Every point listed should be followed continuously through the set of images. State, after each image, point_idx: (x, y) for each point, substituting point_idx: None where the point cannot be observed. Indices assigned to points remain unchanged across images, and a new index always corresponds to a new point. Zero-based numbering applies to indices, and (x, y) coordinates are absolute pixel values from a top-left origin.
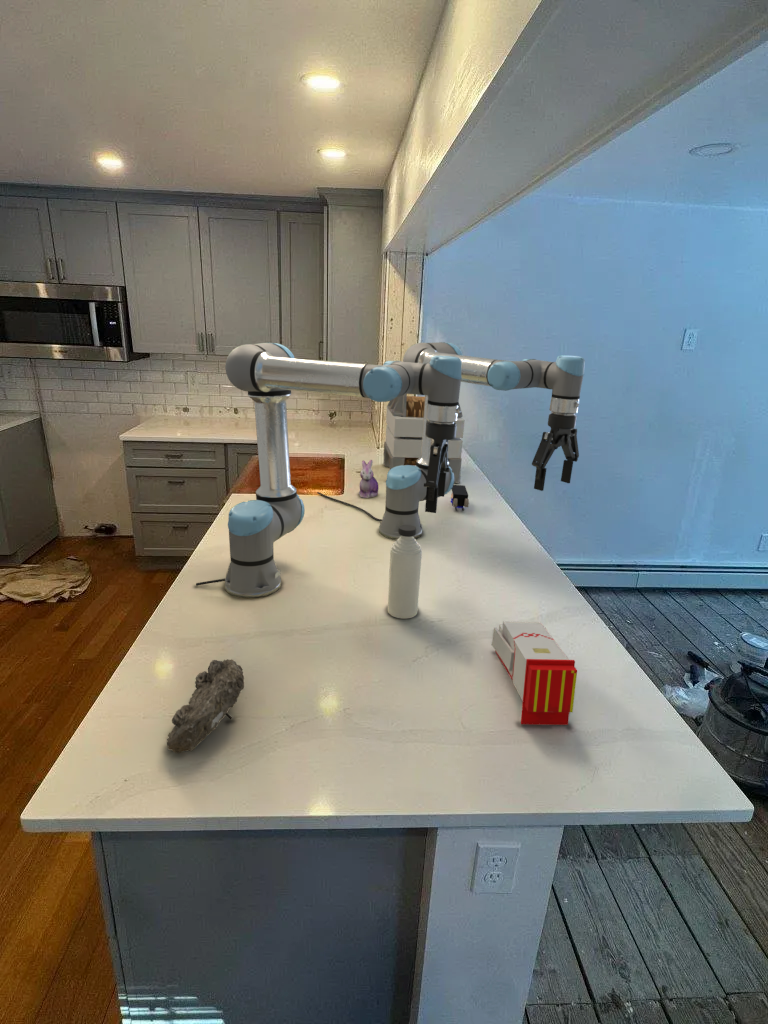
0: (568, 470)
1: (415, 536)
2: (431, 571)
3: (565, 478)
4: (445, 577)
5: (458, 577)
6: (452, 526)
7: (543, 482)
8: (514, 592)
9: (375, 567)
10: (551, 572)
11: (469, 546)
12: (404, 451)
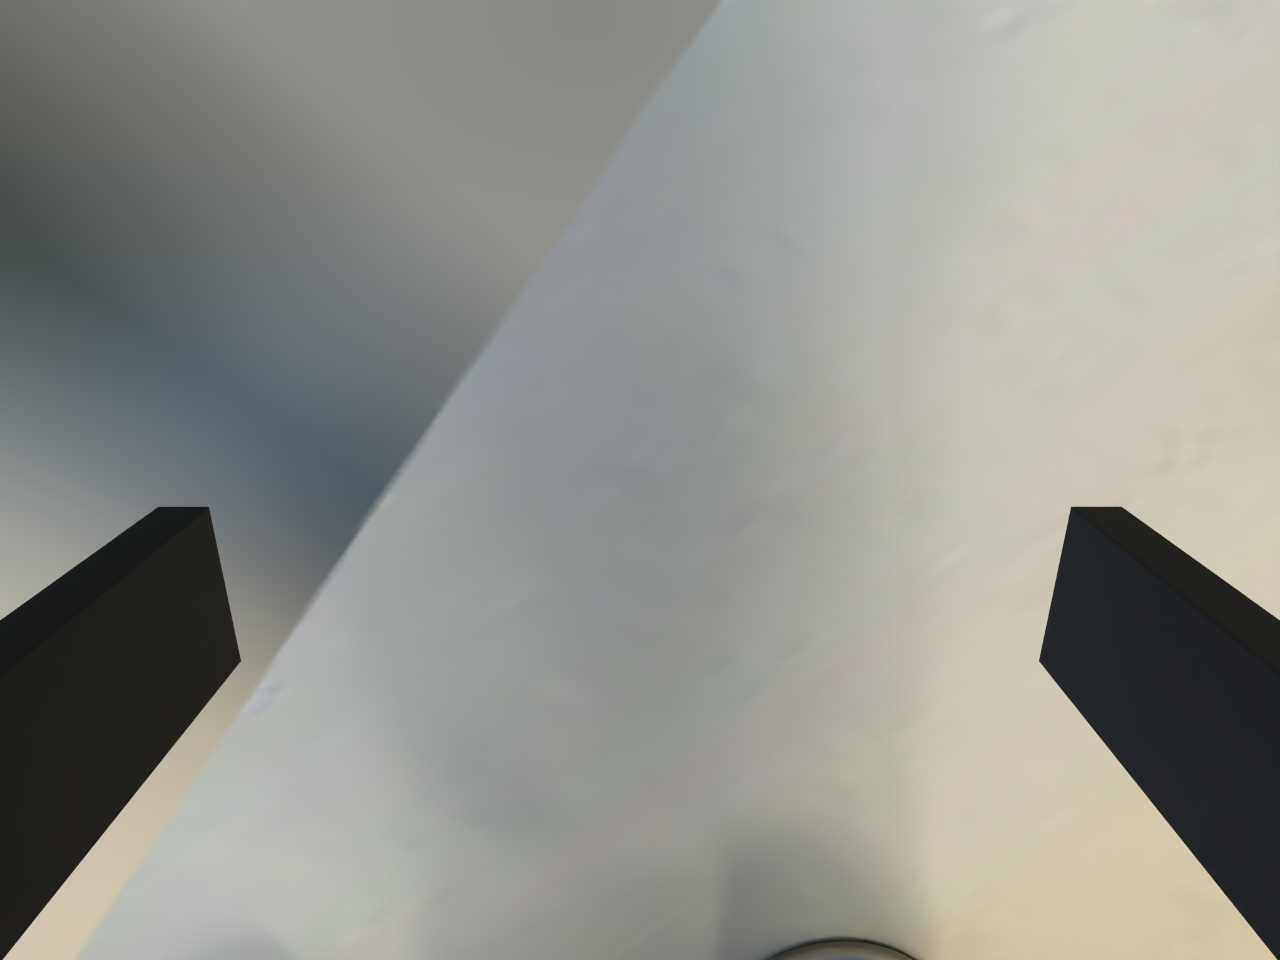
0: (46, 703)
1: (845, 951)
2: None
3: (185, 620)
4: None
5: None
6: (539, 948)
7: (1214, 588)
8: (1013, 221)
9: None
10: (570, 251)
11: (680, 750)
12: None
